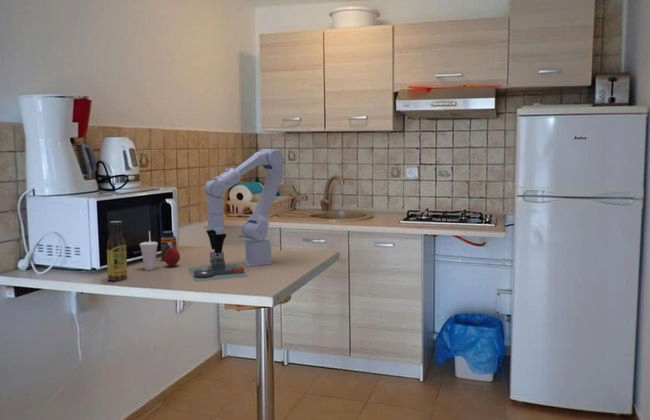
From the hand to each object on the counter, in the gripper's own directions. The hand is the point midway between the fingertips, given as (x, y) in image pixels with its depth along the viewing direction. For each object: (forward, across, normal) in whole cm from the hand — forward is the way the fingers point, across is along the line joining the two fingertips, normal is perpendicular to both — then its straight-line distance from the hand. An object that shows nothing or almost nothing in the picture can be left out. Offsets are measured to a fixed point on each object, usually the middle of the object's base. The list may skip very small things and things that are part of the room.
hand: (216, 251), depth 205 cm
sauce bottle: (+7, +2, -34) cm, 35 cm away
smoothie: (+7, -10, -23) cm, 26 cm away
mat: (+7, +5, -1) cm, 8 cm away
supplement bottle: (+7, -24, -15) cm, 29 cm away
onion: (+7, -11, -15) cm, 20 cm away
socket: (+6, 0, 0) cm, 7 cm away
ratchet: (+7, +9, -1) cm, 11 cm away
